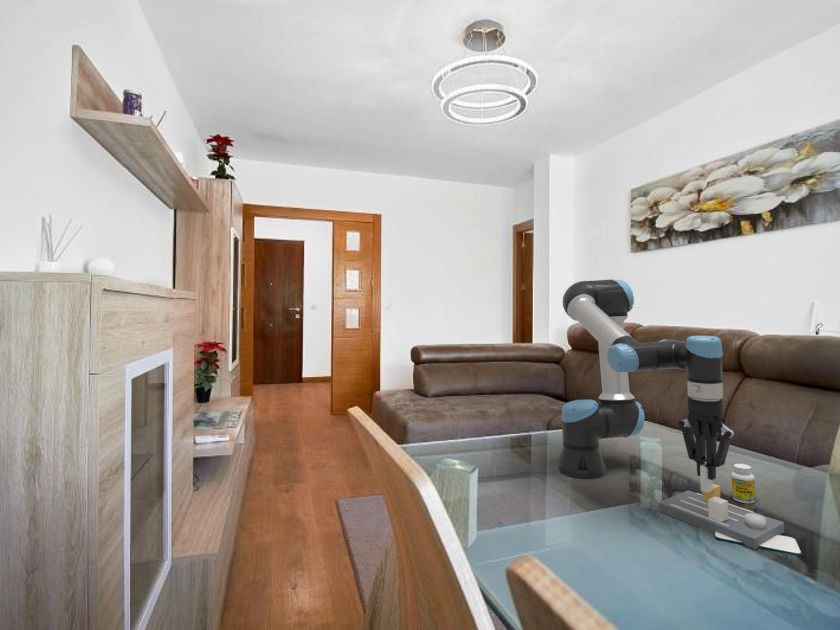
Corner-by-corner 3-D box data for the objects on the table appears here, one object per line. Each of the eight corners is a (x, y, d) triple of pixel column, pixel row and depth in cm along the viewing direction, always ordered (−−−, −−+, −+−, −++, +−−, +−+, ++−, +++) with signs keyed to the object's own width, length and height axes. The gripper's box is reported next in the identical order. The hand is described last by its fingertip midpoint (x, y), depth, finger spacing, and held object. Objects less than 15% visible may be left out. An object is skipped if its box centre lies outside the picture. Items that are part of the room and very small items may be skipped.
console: (658, 511, 122) (658, 495, 122) (688, 498, 128) (687, 483, 128) (755, 549, 101) (754, 530, 101) (784, 532, 108) (783, 514, 108)
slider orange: (702, 501, 120) (701, 484, 120) (708, 498, 122) (708, 482, 122) (714, 505, 118) (713, 488, 118) (720, 502, 119) (719, 485, 119)
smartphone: (795, 541, 105) (713, 526, 113) (795, 537, 105) (713, 522, 113) (802, 558, 98) (715, 541, 106) (802, 554, 98) (715, 537, 106)
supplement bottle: (754, 497, 127) (753, 464, 127) (757, 505, 122) (756, 470, 122) (731, 494, 129) (729, 461, 129) (733, 502, 125) (732, 468, 125)
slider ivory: (708, 517, 112) (708, 499, 112) (715, 514, 113) (714, 496, 113) (721, 522, 109) (721, 503, 109) (728, 518, 110) (727, 500, 110)
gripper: (670, 395, 116) (672, 485, 117) (724, 405, 105) (726, 504, 106) (687, 391, 120) (689, 478, 121) (741, 400, 108) (743, 496, 109)
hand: (706, 490), depth 113 cm, fingers closed
